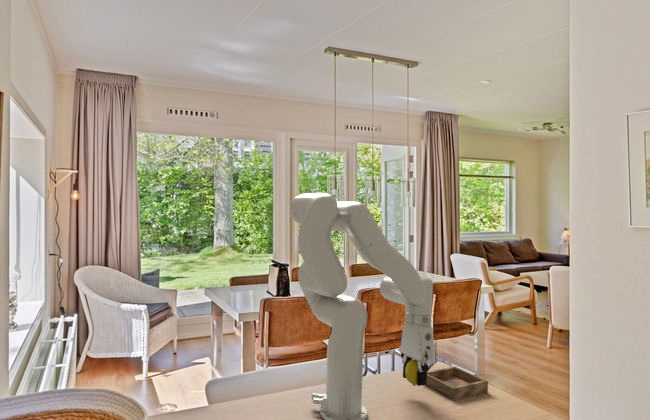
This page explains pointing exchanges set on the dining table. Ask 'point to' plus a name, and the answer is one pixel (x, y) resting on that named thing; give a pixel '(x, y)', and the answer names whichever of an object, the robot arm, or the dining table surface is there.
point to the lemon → (412, 371)
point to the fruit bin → (456, 383)
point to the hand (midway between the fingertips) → (414, 380)
